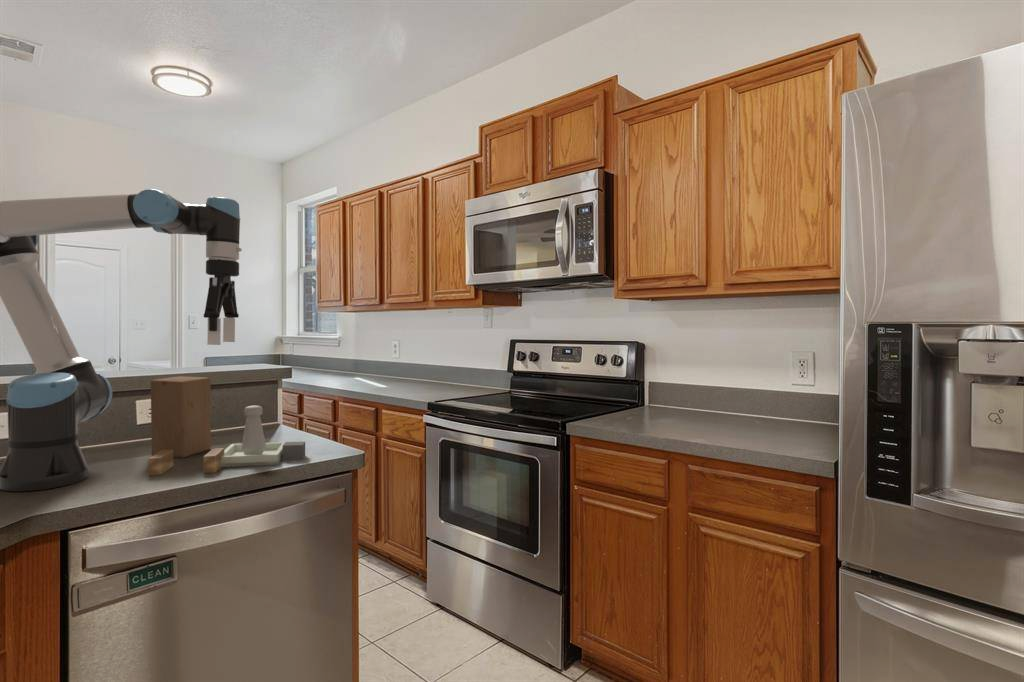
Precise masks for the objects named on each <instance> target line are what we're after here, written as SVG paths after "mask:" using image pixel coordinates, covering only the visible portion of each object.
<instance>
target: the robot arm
mask: <svg viewBox="0 0 1024 682" xmlns="http://www.w3.org/2000/svg"><path fill="white" fill-rule="evenodd" d="M240 214H241V213H240V204H239V202H238V201H237V200H235V199H232V198H227V197H221V196H209V197H208V198H207V199H206V202H205V204H190V203H183V202H181V201H180V200H178V199H176V198H175V197H173V196H172V195H171V194H169V193H168V192H165V191H162V190H160V189H159V190H158V189H153V188H147V189H143V190H141V191H140V192H138V193H128V194H108V195H92V196H89V195H88V196H72V197H70V196H69V197H52V198H38V199H37V198H35V199H33V198H32V199H31V198H30V199H18V200H17V199H15V200H13V199H12V200H0V298H1V301H2V302H3V305H4V306H5V309H6V310H7V313H8V315H9V317H10V319H11V320H12V323H13V325H14V327H15V329H16V330H17V333H18V334H19V336H20V338H21V342H23V344H24V347H25V350H27V352H28V353H27V354H28V355H29V356H30V358H31V361H32V363H33V365H34V367H35V370H36V371H35V372H34V374H29V375H28V374H27V375H25V376H20V377H17V378H15V379H13V380H12V381H10V382H9V383H8V387H7V394H6V399H5V400H6V404H7V405H6V406H7V408H6V409H7V434H8V452H7V454H6V457H5V459H4V462H3V465H2V468H1V470H0V490H2V491H4V492H5V491H6V492H31V491H32V492H33V491H41V490H49V489H55V488H59V487H64V486H67V485H72V484H75V483H78V482H81V481H83V480H85V479H87V478H88V477H89V465H88V463H87V460H86V458H85V456H84V454H83V452H82V450H81V447H80V445H79V441H78V439H79V436H78V434H79V433H78V431H79V428H78V424H80V423H82V422H86V421H90V420H91V419H95V418H96V417H98V415H100V414H102V413H103V412H104V411H105V410H107V408H108V407H109V405H110V404H111V401H112V400H113V399H112V398H113V388H112V385H111V383H110V382H109V380H108V378H106V377H105V376H103V375H102V374H100V373H98V372H97V371H96V369H95V368H94V366H93V364H92V362H91V360H90V359H87V358H85V357H81V356H80V354H79V352H78V350H77V347H76V345H75V344H74V342H73V340H72V338H71V336H70V334H69V331H68V330H67V327H66V326H65V323H64V321H63V318H62V317H61V315H60V313H59V311H58V309H57V307H56V305H55V303H54V301H53V299H52V297H51V294H50V292H49V291H48V288H47V287H46V284H45V282H44V280H43V277H42V276H41V274H40V272H39V270H38V268H37V265H36V264H37V262H38V260H39V259H40V258H41V257H40V254H39V251H38V249H37V245H38V244H39V236H42V235H43V236H44V235H58V234H69V233H71V234H73V233H87V232H96V231H99V232H100V231H113V230H127V229H142V228H143V229H145V228H147V229H148V228H152V229H153V231H155V232H157V233H160V234H161V233H163V234H169V235H193V236H194V235H196V236H197V235H198V236H205V238H206V239H205V241H206V242H205V258H207V259H206V261H205V273H206V275H209V279H208V280H209V281H208V282H209V283H208V291H207V297H206V303H205V307H204V308H205V310H204V313H203V318H204V319H207V345H210V346H211V345H212V346H213V345H215V346H221V341H222V342H223V343H235V342H236V318H239V312H238V307H237V298H236V296H237V295H236V288H235V284H236V283H235V280H232V279H231V277H238V276H240V263H239V262H238V260H240V253H239V252H242V251H243V250H242V248H241V247H240V234H241V233H240V229H241V227H240V225H241V218H240V217H241V216H240ZM211 276H212V277H211ZM222 309H223V315H224V317H222V320H223V323H222V322H221V321H222V320H221V317H220V315H221V311H222ZM221 323H222V324H223V325H221ZM222 327H223V329H222V330H223V331H221V328H222ZM221 333H223V334H222V335H221ZM221 336H222V340H221Z"/></svg>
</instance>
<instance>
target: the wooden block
mask: <svg viewBox="0 0 1024 682" xmlns="http://www.w3.org/2000/svg"><path fill="white" fill-rule="evenodd" d="M211 400H212V399H211V378H210V377H207V376H206V377H203V376H186V375H185V376H183V375H180V376H171V377H164V378H157V379H155V378H154V379H152V380H150V422H151V426H150V427H151V429H150V432H151V434H150V435H151V456H153V455H155V454H157V453H158V452H160V451H161V450H173V458H187V457H190V456H193V455H195V454H196V455H197V454H200V453H202V452H206V451H208V450H212V449H211V448H212V445H211V444H212V435H211V434H212V433H211V429H212V427H211V426H212V425H211V424H212V423H211V421H212V419H211V414H212V411H211Z"/></svg>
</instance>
